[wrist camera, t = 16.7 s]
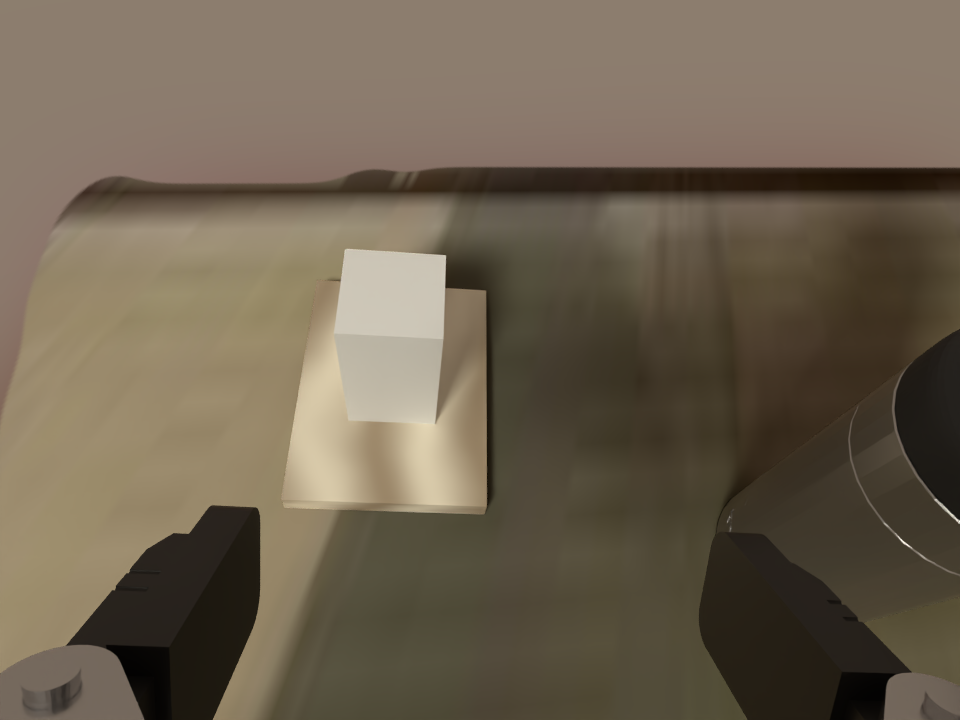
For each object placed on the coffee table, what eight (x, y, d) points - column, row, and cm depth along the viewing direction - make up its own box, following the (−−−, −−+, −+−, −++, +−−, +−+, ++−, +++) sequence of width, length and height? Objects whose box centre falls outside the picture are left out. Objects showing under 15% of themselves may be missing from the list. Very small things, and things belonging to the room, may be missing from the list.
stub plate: (483, 302, 48) (492, 254, 43) (484, 514, 40) (495, 483, 35) (319, 292, 47) (310, 242, 42) (284, 507, 39) (268, 474, 34)
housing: (437, 351, 44) (445, 255, 35) (435, 424, 41) (443, 339, 32) (356, 347, 43) (345, 248, 35) (348, 420, 40) (333, 333, 32)
